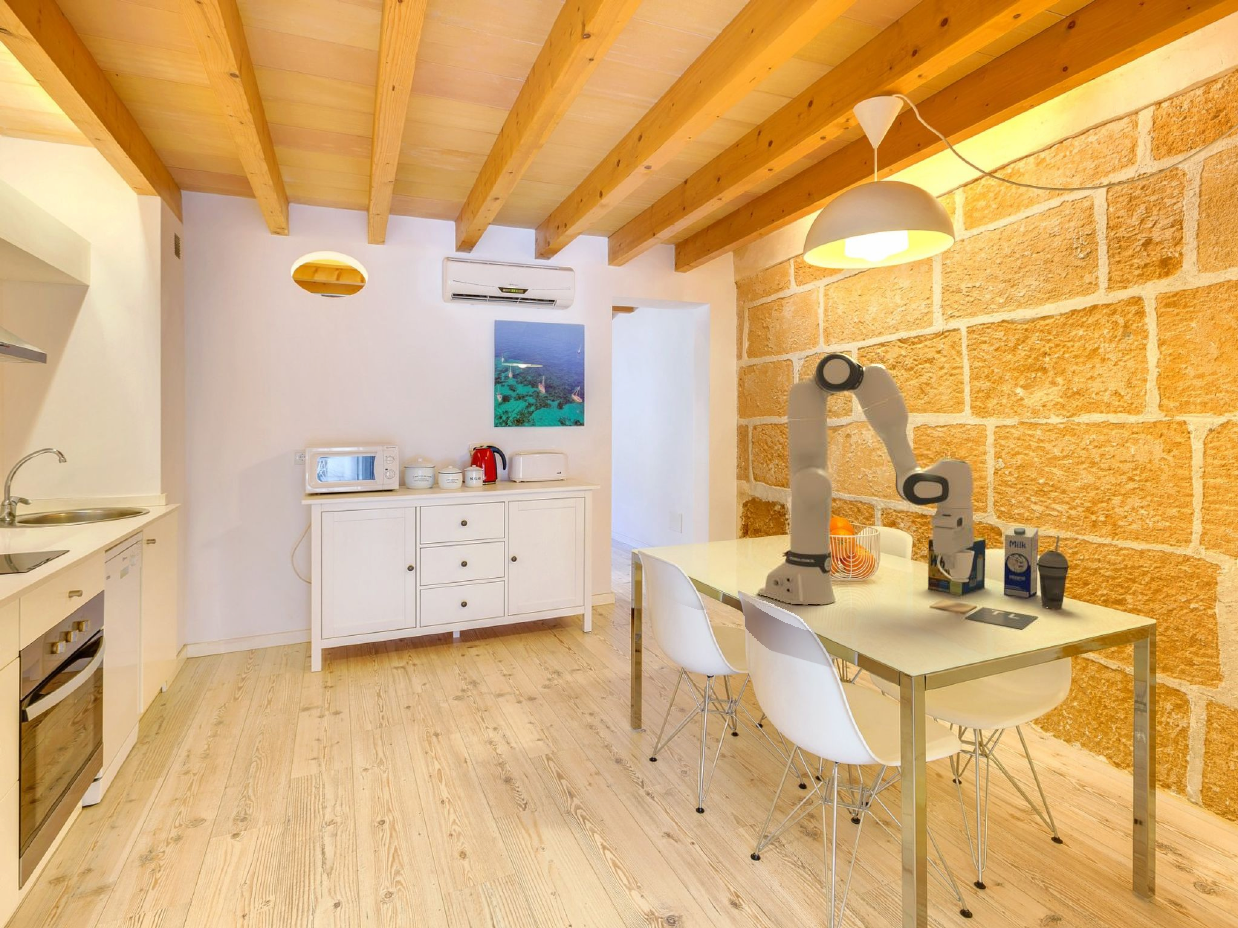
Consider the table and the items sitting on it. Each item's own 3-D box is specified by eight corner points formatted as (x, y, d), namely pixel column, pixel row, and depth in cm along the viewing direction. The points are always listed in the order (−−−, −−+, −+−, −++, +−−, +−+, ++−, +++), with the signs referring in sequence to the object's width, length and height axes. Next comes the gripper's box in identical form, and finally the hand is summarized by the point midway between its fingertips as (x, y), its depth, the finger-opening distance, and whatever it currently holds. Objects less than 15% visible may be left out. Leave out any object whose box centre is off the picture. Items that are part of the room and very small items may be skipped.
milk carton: (1037, 594, 190) (1039, 527, 189) (1030, 598, 186) (1031, 530, 185) (1010, 590, 196) (1011, 525, 195) (1003, 594, 191) (1004, 527, 190)
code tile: (964, 618, 168) (964, 617, 168) (983, 608, 177) (983, 606, 177) (1021, 629, 158) (1021, 628, 158) (1037, 617, 168) (1037, 616, 168)
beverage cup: (1042, 601, 182) (1044, 532, 181) (1072, 607, 177) (1074, 535, 176) (1031, 606, 178) (1033, 534, 177) (1061, 612, 172) (1063, 538, 171)
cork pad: (929, 607, 178) (929, 605, 178) (942, 601, 184) (942, 599, 184) (964, 614, 172) (964, 612, 172) (976, 607, 178) (976, 605, 178)
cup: (964, 584, 172) (965, 554, 172) (930, 577, 180) (930, 548, 180) (979, 581, 175) (980, 551, 175) (945, 574, 184) (945, 546, 184)
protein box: (927, 589, 199) (927, 539, 198) (951, 581, 208) (952, 534, 207) (961, 596, 190) (962, 544, 189) (985, 587, 199) (986, 538, 199)
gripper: (956, 512, 186) (956, 559, 187) (928, 520, 172) (928, 571, 173) (980, 514, 182) (979, 562, 182) (953, 522, 168) (953, 574, 168)
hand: (954, 567), depth 177 cm, fingers closed on cup, 6 cm apart
